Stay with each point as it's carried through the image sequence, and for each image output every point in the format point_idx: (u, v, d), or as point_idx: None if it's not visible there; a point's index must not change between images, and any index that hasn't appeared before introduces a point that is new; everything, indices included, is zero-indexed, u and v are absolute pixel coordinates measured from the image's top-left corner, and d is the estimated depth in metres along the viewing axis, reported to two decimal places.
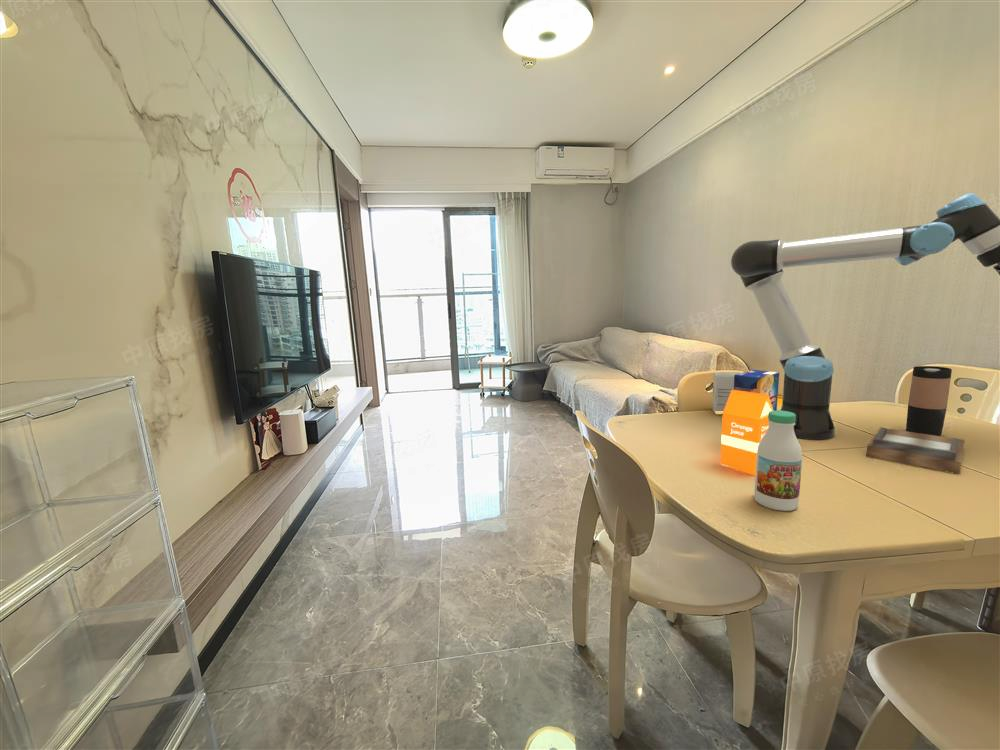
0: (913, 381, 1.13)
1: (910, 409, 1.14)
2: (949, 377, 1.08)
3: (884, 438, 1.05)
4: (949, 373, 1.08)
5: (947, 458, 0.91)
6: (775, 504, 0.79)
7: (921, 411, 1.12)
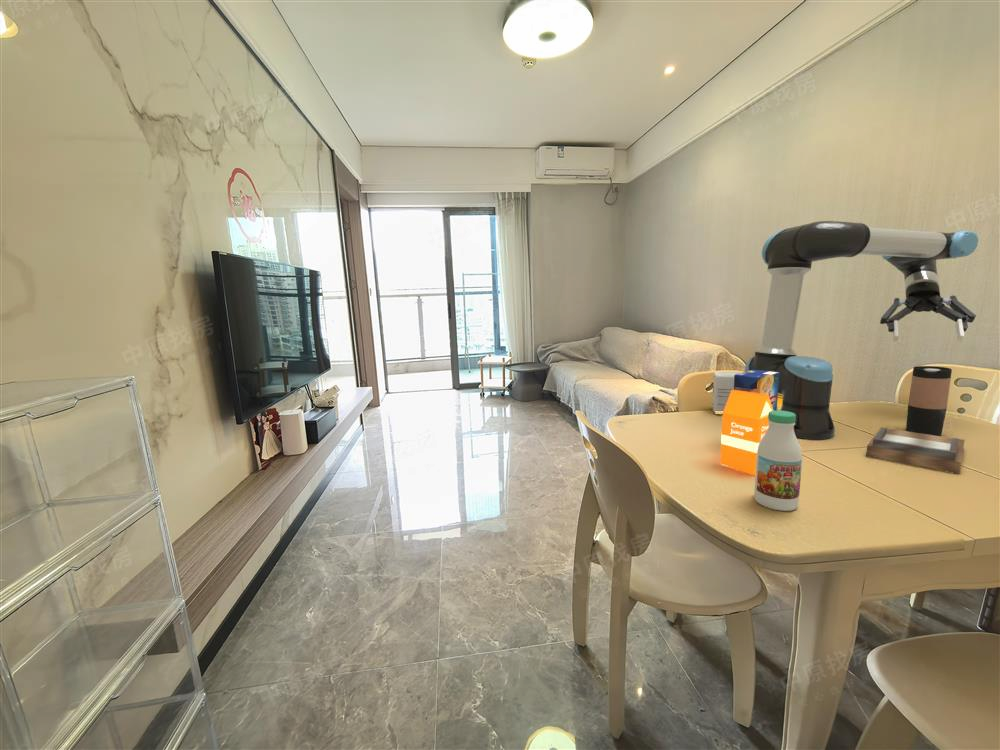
0: (913, 381, 1.13)
1: (910, 409, 1.14)
2: (949, 377, 1.08)
3: (884, 438, 1.05)
4: (949, 373, 1.08)
5: (947, 458, 0.91)
6: (775, 504, 0.79)
7: (921, 411, 1.12)
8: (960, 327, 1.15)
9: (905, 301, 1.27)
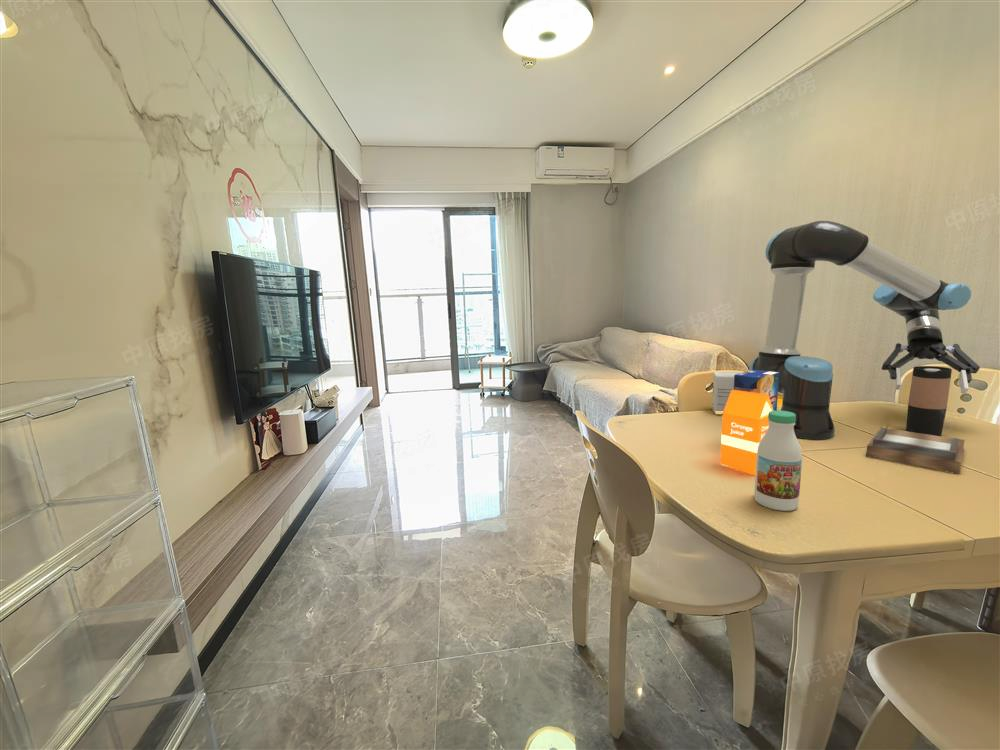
0: (913, 381, 1.13)
1: (910, 409, 1.14)
2: (949, 377, 1.08)
3: (884, 438, 1.05)
4: (949, 373, 1.08)
5: (947, 458, 0.91)
6: (775, 504, 0.79)
7: (921, 411, 1.12)
8: (964, 379, 1.12)
9: (907, 347, 1.24)
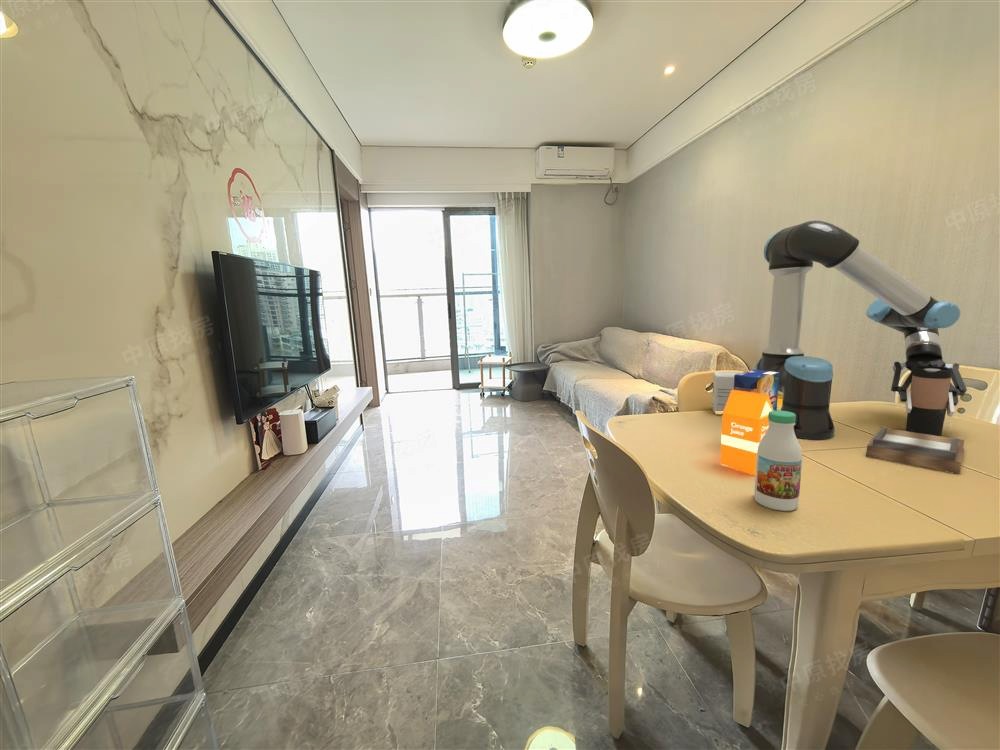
0: (913, 381, 1.13)
1: None
2: (949, 377, 1.08)
3: (884, 438, 1.05)
4: (949, 373, 1.08)
5: (947, 458, 0.91)
6: (775, 504, 0.79)
7: (921, 411, 1.12)
8: (950, 402, 1.09)
9: (906, 364, 1.20)
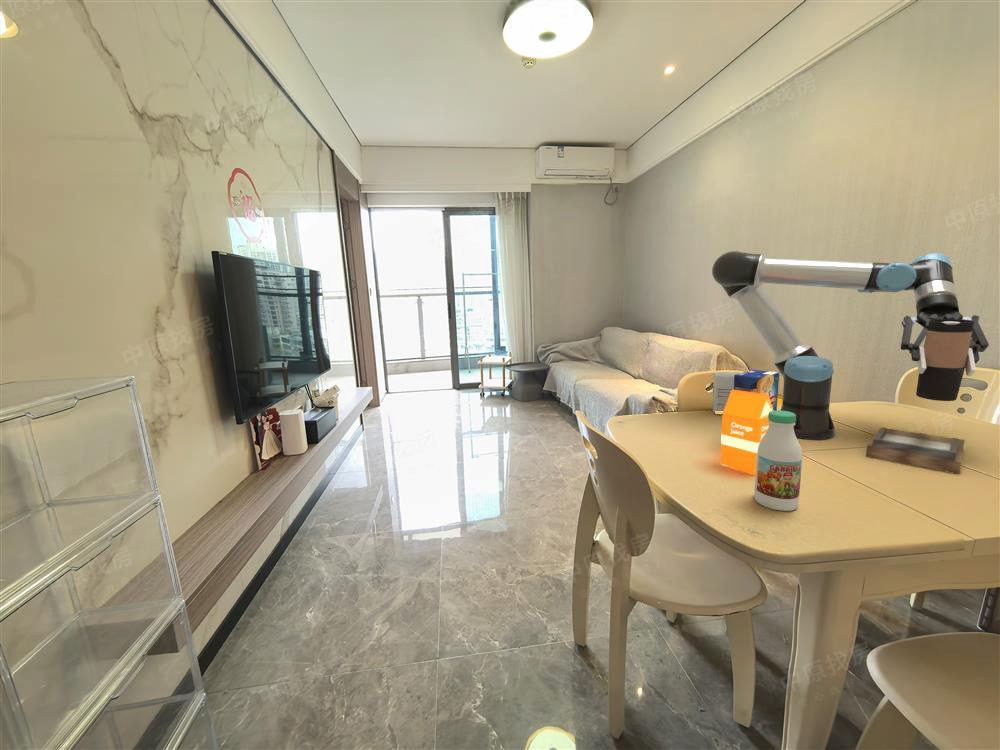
0: (928, 337, 0.98)
1: None
2: (971, 330, 0.93)
3: (884, 438, 1.05)
4: (972, 325, 0.93)
5: (947, 458, 0.91)
6: (775, 504, 0.79)
7: (937, 371, 0.97)
8: (971, 359, 0.94)
9: (918, 318, 1.05)
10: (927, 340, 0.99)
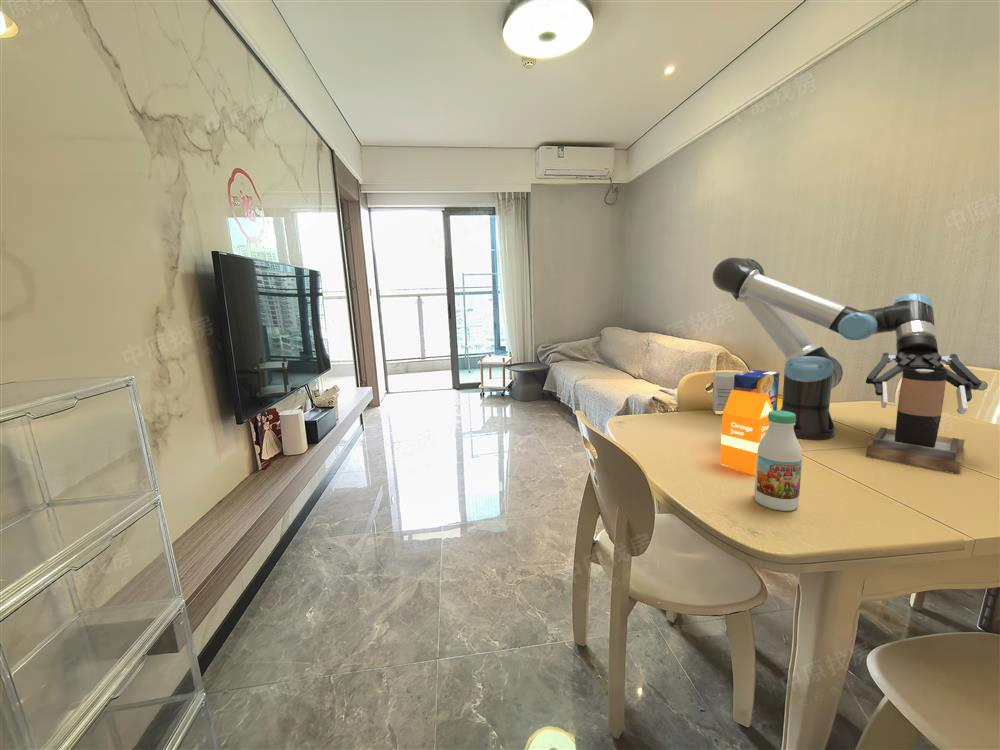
0: (903, 384, 0.98)
1: (900, 416, 0.99)
2: (944, 379, 0.93)
3: (884, 438, 1.05)
4: (944, 374, 0.93)
5: (947, 458, 0.91)
6: (775, 504, 0.79)
7: (912, 419, 0.97)
8: (962, 397, 0.93)
9: (896, 357, 1.05)
10: (902, 387, 0.99)
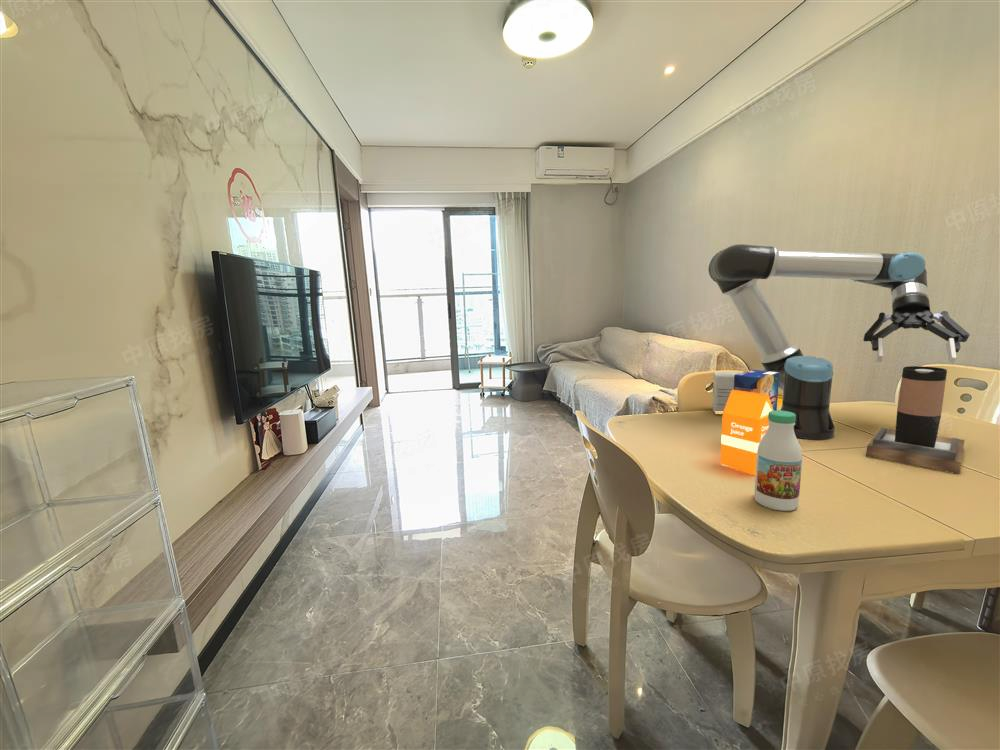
0: (903, 384, 0.98)
1: (900, 416, 0.99)
2: (944, 379, 0.93)
3: (884, 438, 1.05)
4: (944, 374, 0.93)
5: (947, 458, 0.91)
6: (775, 504, 0.79)
7: (912, 419, 0.97)
8: (952, 347, 1.01)
9: (891, 316, 1.13)
10: (902, 387, 0.99)
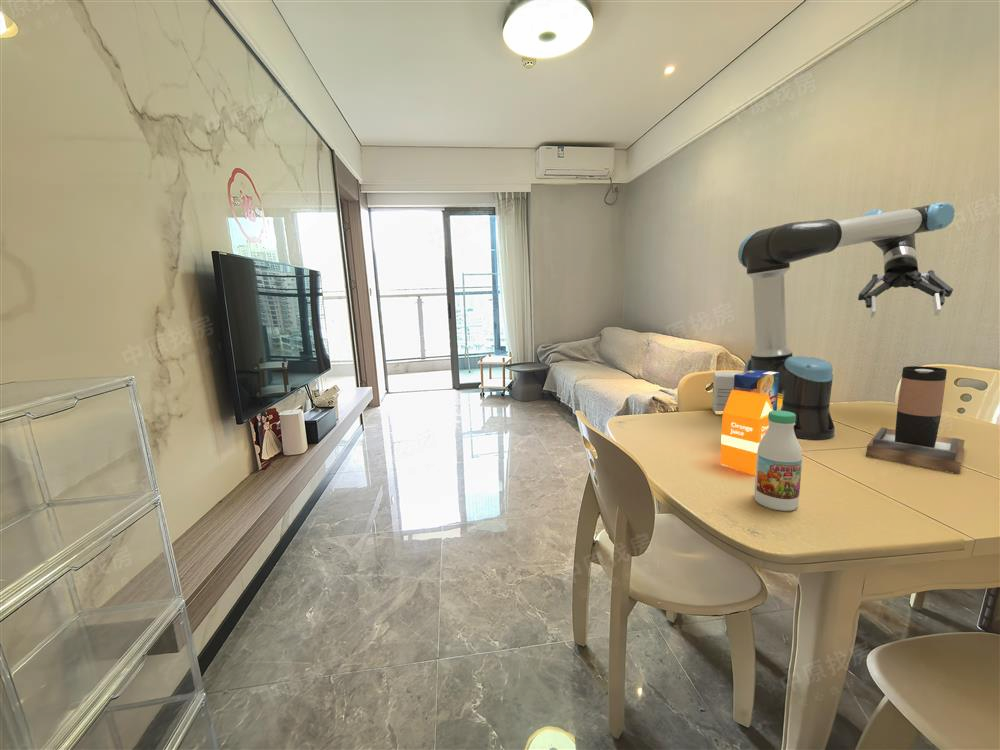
0: (902, 384, 0.98)
1: (900, 416, 0.99)
2: (944, 379, 0.93)
3: (884, 438, 1.05)
4: (944, 374, 0.93)
5: (947, 458, 0.91)
6: (775, 504, 0.79)
7: (912, 419, 0.97)
8: (937, 301, 1.12)
9: (883, 277, 1.24)
10: (901, 387, 0.99)
